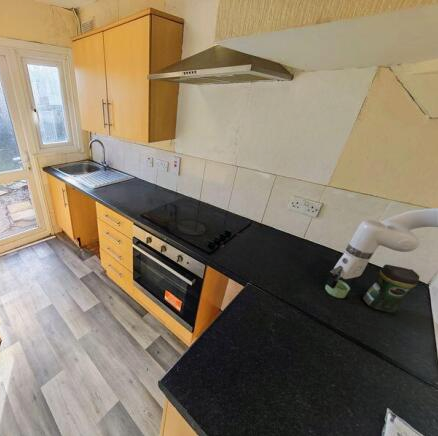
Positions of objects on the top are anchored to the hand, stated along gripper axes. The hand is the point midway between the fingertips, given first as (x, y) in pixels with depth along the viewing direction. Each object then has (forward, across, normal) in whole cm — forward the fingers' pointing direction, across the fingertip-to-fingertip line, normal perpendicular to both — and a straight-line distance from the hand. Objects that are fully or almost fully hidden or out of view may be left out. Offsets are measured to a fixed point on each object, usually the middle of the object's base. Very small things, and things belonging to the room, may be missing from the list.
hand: (338, 284), depth 94 cm
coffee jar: (+4, +11, -10) cm, 15 cm away
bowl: (+4, 0, 0) cm, 5 cm away
